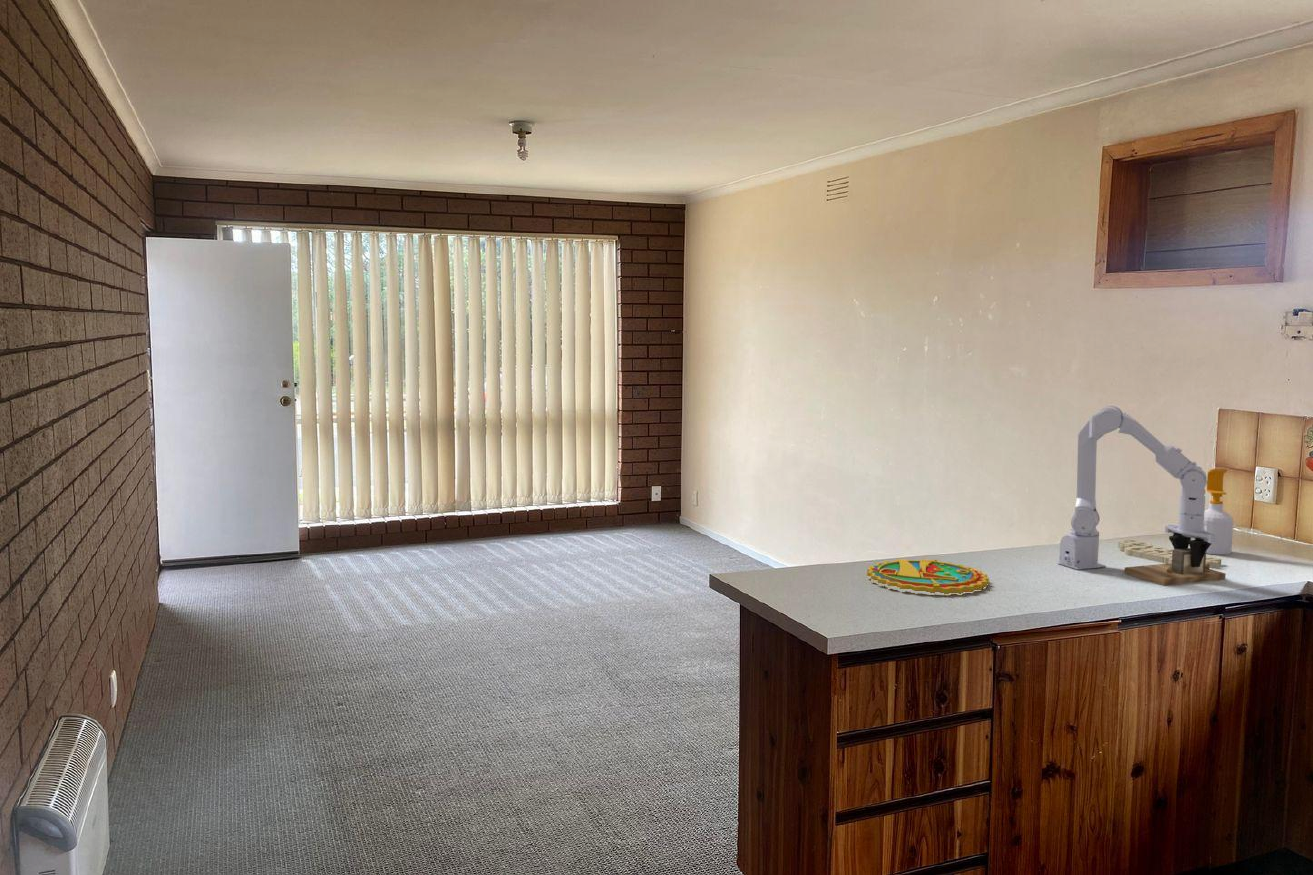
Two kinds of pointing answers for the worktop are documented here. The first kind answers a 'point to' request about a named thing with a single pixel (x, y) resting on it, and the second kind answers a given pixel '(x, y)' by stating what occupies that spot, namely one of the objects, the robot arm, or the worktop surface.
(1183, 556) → the metal block
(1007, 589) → the worktop surface
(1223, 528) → the soap bottle
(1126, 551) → the decorative sign
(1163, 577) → the board
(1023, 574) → the worktop surface
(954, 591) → the decorative plaque
